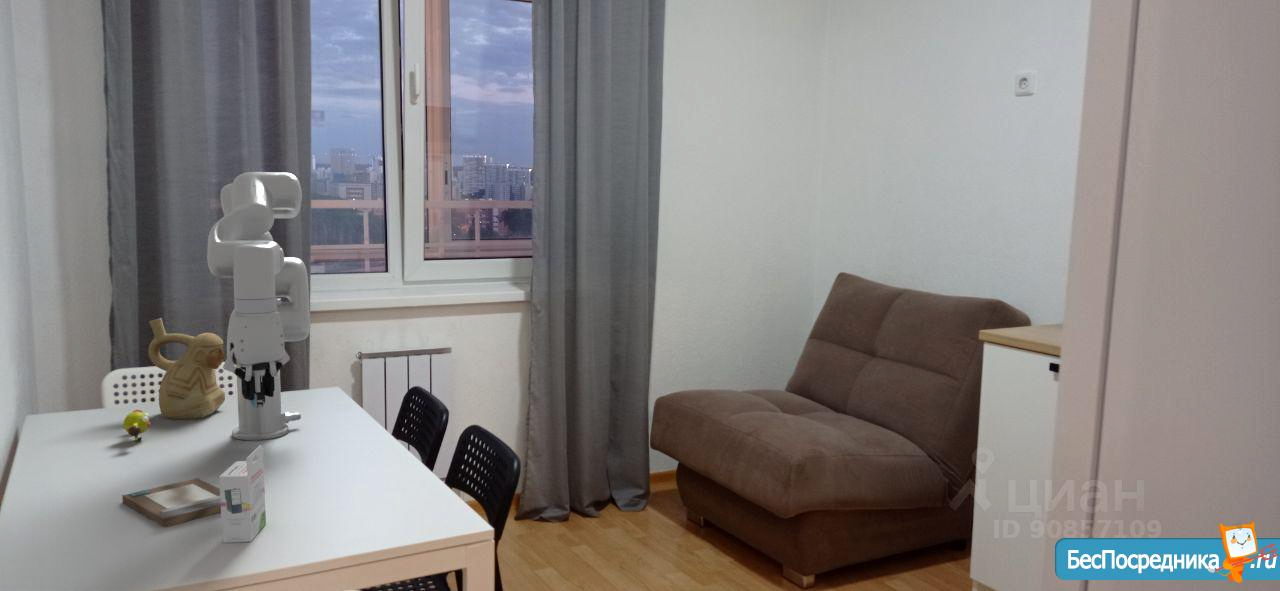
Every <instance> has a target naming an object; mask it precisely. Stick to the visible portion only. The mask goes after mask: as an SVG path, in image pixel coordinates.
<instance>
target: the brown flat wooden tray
mask: <svg viewBox="0 0 1280 591" xmlns="http://www.w3.org/2000/svg"><path fill="white" fill-rule="evenodd" d="M122 504H124V505H125V506H127V507H129V508H130V509H132V510H134V511H136V512H137V513H139V514H141V515H143V516H144V517H146V518H147V519H149V520H151V521H152V522H154V523H156V524H158V525H160V526H161V527H163V528H166V527H170V526H174V525H178V524H181V523H185V522H189V521H193V520H196V519H199V518H204V517H207V516H208V517H209V516H212V515H215V514H219V513H220V514H221V502H220V487H217V486H215V485H213V484H211V483H209V482H206V481H204V480H203V479H200V478H199V477H198V478H197V477H196V478H193V479H188V480H183V481H179V482H175V483H170V484H166V485H162V486H157V487H152V488H148V489H145V490H138V491H135V492H129V493H126V494H122Z"/></svg>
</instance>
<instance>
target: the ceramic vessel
mask: <svg viewBox="0 0 1280 591" xmlns="http://www.w3.org/2000/svg"><path fill="white" fill-rule="evenodd" d="M148 323H149V325H150V327H151V330H152V332H153V335H154V338H152V340H151V342H150V343H149V346H148V352H147V353H148V357H149V360H150V361H151V362H152V364H153V365H154V366H155V367H157V368H158V369H160V370H162V371H165V373H164V375H163V377H162V378H161V382H160V386H159V391H158V392H159V393H158V406H159V411H160V412H161V415H162V416H163V417H164V418H166V419H171V420H172V419H173V420H190V419H191V420H193V419H202V418H205V417H207V416H210V415H211V414H213V413H215V411H217V410H219V409H220V407H221V406H222V405H223V404H224V402H225V400H226V394H225V392H224V390H223V389H222V388H221V387H220V386H219V385H218V384H217V376H216V370H217V369H219V367H220V366H221V365H222V364H223V361H224V360H226V355H225V353H224V351H223V344H224V341H223V339H222V338H221V337H220V336H219V335H218V334H215V333H213V332H203V333H200V334H198V335H197V336H192V335H189V334H185V333H178V332H177V333H175V332H173V333H167V332H166V329H165V327H164V323H163V317H160V318H156V319H153V320H150V321H148ZM170 343H173V344H174V343H177V344H178V343H179V344H182V345H184V346H186V347H187V349H186V351H185V352H184V353H183V354H182V356H179V358H178V359H177V360H170V359H166V358H165V357H164V356H162V354H161V353H160V352H161V351H160V350H161V347H162V346H164V345H167V344H170Z"/></svg>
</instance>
